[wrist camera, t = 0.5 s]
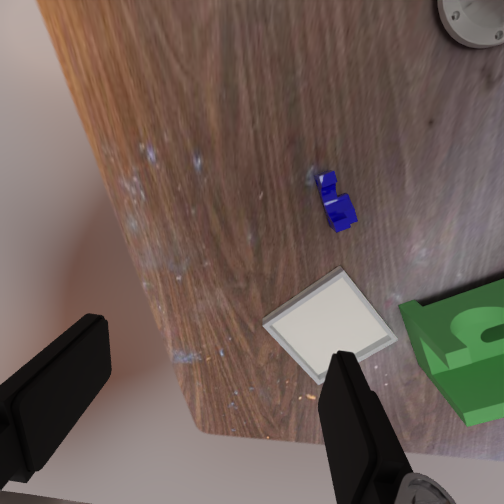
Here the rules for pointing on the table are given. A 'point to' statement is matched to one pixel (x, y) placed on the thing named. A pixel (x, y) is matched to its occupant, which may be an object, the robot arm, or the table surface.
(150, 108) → the table surface
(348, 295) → the tray
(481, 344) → the green cradle stand
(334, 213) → the cable holder
